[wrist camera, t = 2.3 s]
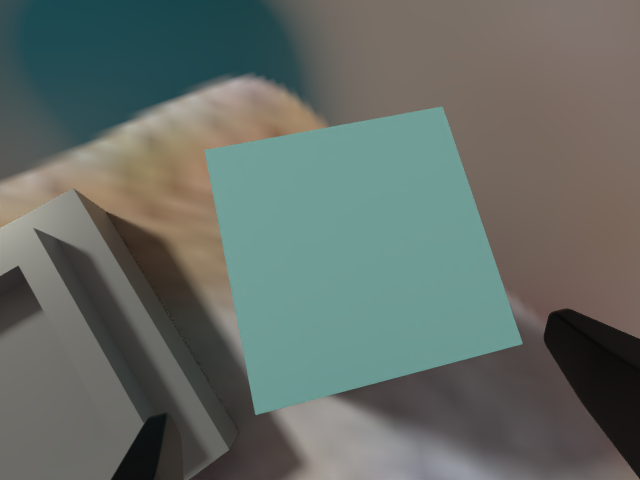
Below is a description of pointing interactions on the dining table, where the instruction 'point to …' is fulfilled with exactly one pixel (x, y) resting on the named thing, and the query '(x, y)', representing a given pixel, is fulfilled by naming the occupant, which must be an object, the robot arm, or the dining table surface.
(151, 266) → the dining table surface
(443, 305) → the column brick
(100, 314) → the base brick
